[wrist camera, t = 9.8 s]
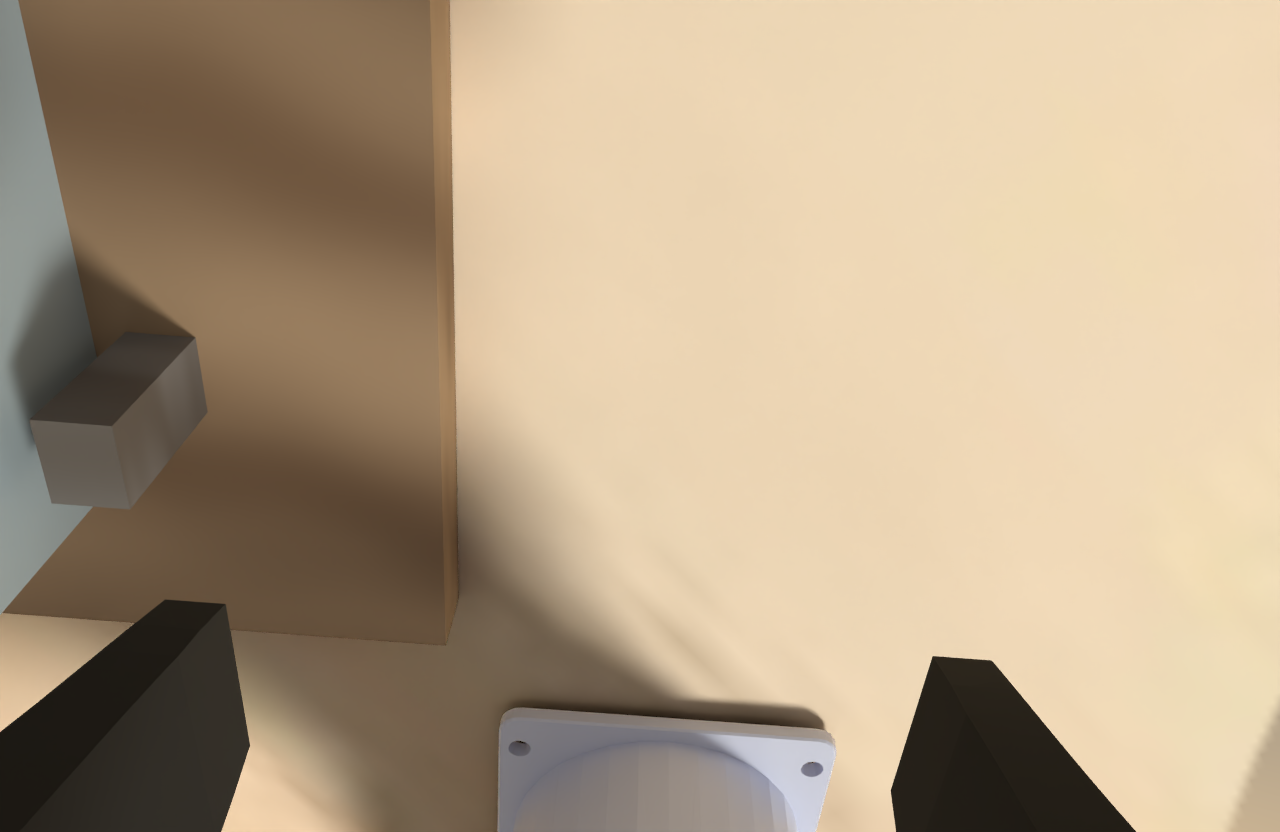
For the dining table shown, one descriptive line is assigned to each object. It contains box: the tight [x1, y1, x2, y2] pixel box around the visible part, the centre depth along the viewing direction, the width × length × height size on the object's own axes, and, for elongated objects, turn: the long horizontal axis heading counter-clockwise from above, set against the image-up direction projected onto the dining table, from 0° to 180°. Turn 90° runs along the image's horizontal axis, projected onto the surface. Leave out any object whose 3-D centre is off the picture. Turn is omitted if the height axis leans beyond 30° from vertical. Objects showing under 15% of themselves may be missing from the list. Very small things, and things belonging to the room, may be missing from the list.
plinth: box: [2, 0, 459, 645], centre depth 15 cm, size 20×12×4 cm, turn 175°
